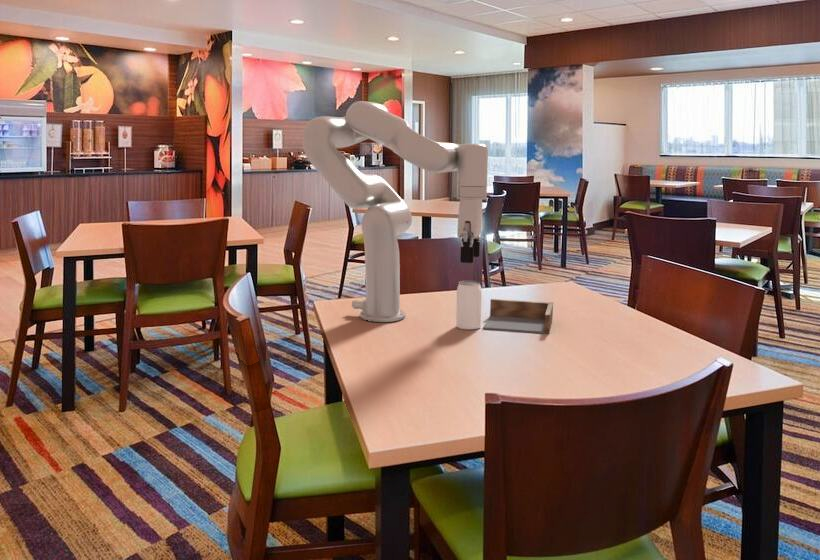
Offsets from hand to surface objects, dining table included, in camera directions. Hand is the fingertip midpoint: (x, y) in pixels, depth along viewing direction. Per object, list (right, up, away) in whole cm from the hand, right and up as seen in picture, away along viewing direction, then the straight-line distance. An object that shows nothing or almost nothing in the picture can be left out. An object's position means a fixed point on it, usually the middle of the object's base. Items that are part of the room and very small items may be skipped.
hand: (470, 259), depth 173 cm
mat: (+14, -17, +6) cm, 23 cm away
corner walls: (+14, -17, +6) cm, 23 cm away
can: (0, -18, +4) cm, 18 cm away
